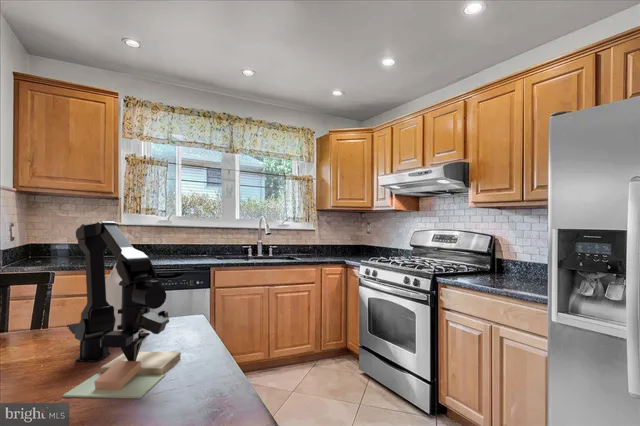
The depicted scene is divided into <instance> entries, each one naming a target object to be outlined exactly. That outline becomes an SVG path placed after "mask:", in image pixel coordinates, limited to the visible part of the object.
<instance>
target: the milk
mask: <svg viewBox="0 0 640 426" xmlns="http://www.w3.org/2000/svg"><path fill="white" fill-rule="evenodd" d="M116 263H117V262H115V264H114V265H113V268H112V270H111V271H110V273H109V274H108V276H106V277H105V285H106V301H107V302H108V303H109V305H110V306H113V307H114V316H115V319H116V321H115V326H114V330H113V331H122V330H117V326H118V325H120V324H121V314H118V309H121V305H122V286H120V285H119V283H120V281H122V279H121V277H120V276H119V274H118V273H117V269H116V267H115V266H116ZM144 330H145V329H144ZM145 333H149V331H148V330H145Z"/></svg>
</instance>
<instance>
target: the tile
mask: <svg viewBox="0 0 640 426" xmlns="http://www.w3.org/2000/svg"><path fill="white" fill-rule="evenodd" d="M140 369H141V361H117V362H116V363H115V364H114V365H113V366H112V367H110V368H109V369H108V370H107V371H106V372H105V373H103V374H102V375H101V376H100V377H99V378H98V379H97V380H95V381H94V382H95V389H103V390H120V389H121V388H122V387H123V386H124V385H125V384H126V383H127V382H128V381H129V380H130V379H131V378H132V377H133V376H134V375H135V374H136V373H137V372H138V371H139V370H140Z"/></svg>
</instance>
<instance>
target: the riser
mask: <svg viewBox="0 0 640 426" xmlns="http://www.w3.org/2000/svg"><path fill="white" fill-rule="evenodd" d="M180 360H181V351H139V353H138V356H137V359H136V361H141V369H140V370H139V371H138V372H137V373H136V374H135V375H165V373H166V372H168V371H169V370H170V369H171V368H172V367H174V365H176V363H178V362H179V361H180ZM117 361H128V360H127V358H126V357H125V355H124V353H123V352H122V353H121V354H120V355H119V356H117V357H115V358H114V359H113V360H110V361H109V362H107V363H106V364H104V365H102V366H101V367H100V374H103V373H105V372H106V371H107V370H108V369H109V368H110V367H112V366H113V365H114V364H115V363H116V362H117Z"/></svg>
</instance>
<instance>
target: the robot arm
mask: <svg viewBox="0 0 640 426" xmlns="http://www.w3.org/2000/svg"><path fill="white" fill-rule="evenodd" d="M75 237H76V240H77V245H78V248H80V250H81V251H82V252H83V254H84V257H85V259H84V260H85V279H86V280H85V283H86V305H85V307H84V308H83V310H82V312H81V314H80V321H79V322H78V323H79V324H78V326H77V327H76V329H75V331H74V334H73V335H74V339H75V340H76V341H77V340H78V341H79V357H77V358H76V359H75V361H76V362H98V361H100V360H102V359H104V358H105V357H108V356H109V355H110V354H111V351H109V348H115V349H116V348H120V350H121V351H122V354H123V353H124V355H125V357H126V358H127V360H128V361H136V359H137V356H138V353H139V352H140V349H141V347H142V344H143V342H144V340H145V339H147V337H148V336H150V335H151V334H154V335H158V334H160V333H161V332H163V331H165V328H166V326H167V324H169V323H170V317H169V312H168V311H167V310H165V309H162V310H160V311H159V312H151V310H156V309H159V308H161V307H162V306H163V305H164V303H165V302H166V299H167V292H166V290H165V288H164V287H162V286H161V285H160V281H159V279H158V277H157V276H158V274H157V271H156V269H155V268H154V265H153V263H152V260H151V259H150V258H149V256H148V255H146V254H145V252H144V251H141V250H139V249H136V248H134V247H133V245H132V244H131V242H130V241H129V240H128V238H127V237H126V236H125V234H124V233H123V232H122V230H121V229H120V227H119V223H118V222H115V221H110V220H109V221H105V220H104V221H103V220H101V221H99V222H95V223H91V224H90V223H88V224H87V223H85V224H84V223H83V224H81V225H80V226H79V227H77V228H76V231H75ZM107 248H108V249H109V250H110V252H111V253H112V255H113V256H114V258H115V259H116V262H115V263H116V266H115V267H116V269H117V273H118V274H119V276H120V277H121V279H122V281H120V283H119V285H120V286H122V305H121V309H118V314H121V324H120V325H118V326H117V330H122V331H113V330H114V326H115V321H116V319H115V316H114V307H113V306H110V305H109V303H108V302H107V301H106V285H105V279H106V270H105V269H106V267H105V251H106V250H107ZM144 329H145V330H148V333H145V330H144Z"/></svg>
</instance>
